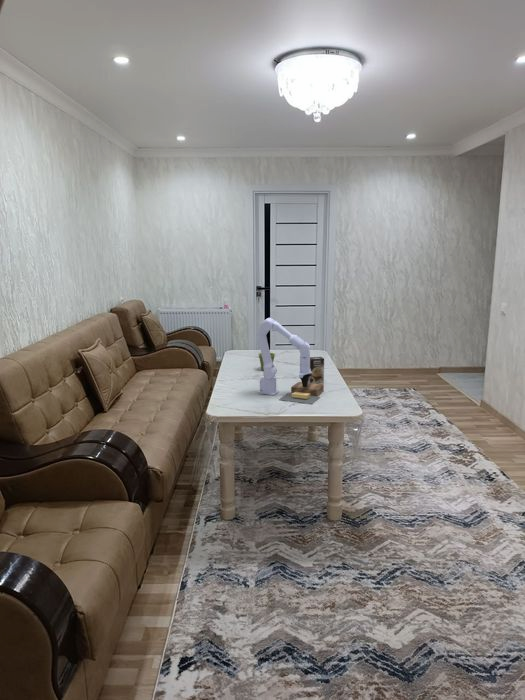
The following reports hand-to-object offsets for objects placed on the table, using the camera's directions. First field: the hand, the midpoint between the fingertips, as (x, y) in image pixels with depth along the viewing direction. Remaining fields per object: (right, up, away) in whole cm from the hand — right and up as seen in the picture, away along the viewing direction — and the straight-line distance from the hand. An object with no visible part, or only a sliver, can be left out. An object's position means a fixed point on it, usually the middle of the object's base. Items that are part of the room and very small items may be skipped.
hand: (304, 386), depth 296 cm
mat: (-4, -6, -7) cm, 10 cm away
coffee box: (+9, +1, +25) cm, 26 cm away
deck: (+2, -4, +5) cm, 7 cm away
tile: (-3, -3, -6) cm, 8 cm away
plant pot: (-22, +7, +56) cm, 61 cm away
